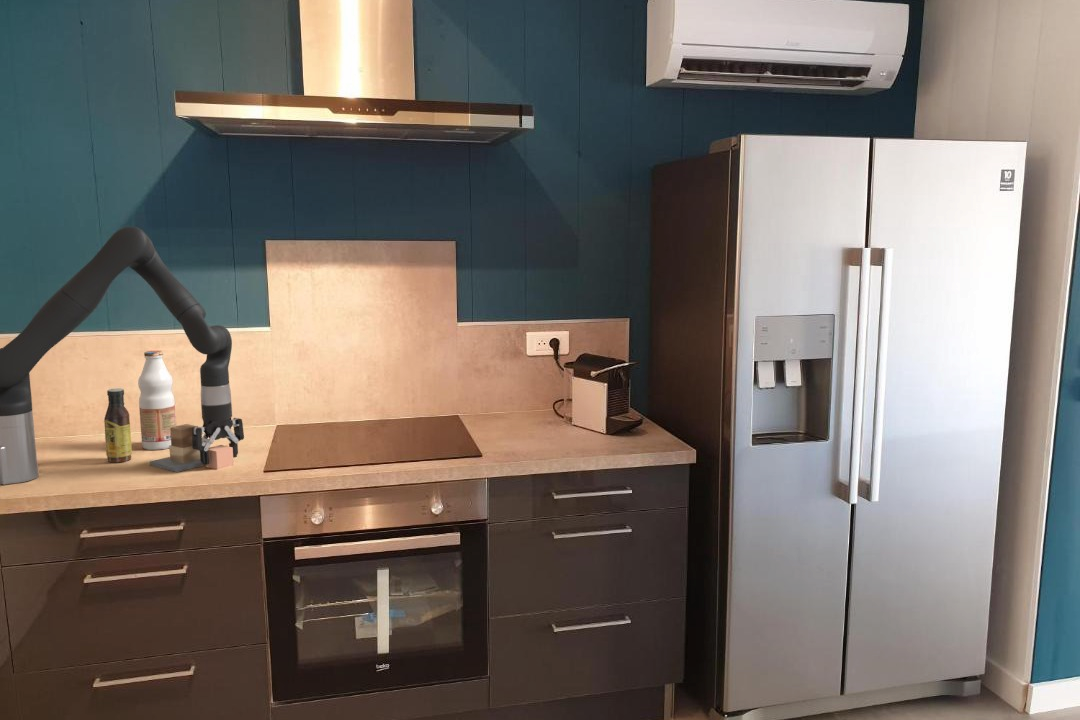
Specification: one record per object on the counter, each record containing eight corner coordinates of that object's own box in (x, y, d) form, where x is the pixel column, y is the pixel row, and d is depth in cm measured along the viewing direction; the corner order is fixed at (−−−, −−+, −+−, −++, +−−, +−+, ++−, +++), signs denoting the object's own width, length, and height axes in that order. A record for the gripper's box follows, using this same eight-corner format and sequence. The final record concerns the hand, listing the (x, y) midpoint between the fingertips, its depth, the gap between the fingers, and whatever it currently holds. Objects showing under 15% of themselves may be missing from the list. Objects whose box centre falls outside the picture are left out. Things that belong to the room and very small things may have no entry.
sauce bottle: (103, 460, 228) (98, 389, 225) (127, 456, 233) (122, 386, 230) (111, 465, 224) (106, 392, 221) (136, 460, 228) (131, 389, 225)
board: (176, 472, 217) (176, 468, 217) (150, 465, 224) (149, 461, 224) (223, 460, 229) (223, 456, 229) (196, 453, 235) (196, 450, 235)
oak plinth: (183, 463, 222) (182, 448, 221) (170, 459, 225) (169, 445, 225) (203, 458, 227) (202, 443, 226) (190, 454, 230) (189, 440, 230)
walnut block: (182, 448, 222) (181, 429, 221) (171, 445, 225) (170, 427, 224) (199, 444, 226) (198, 426, 225) (188, 441, 229) (186, 423, 228)
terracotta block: (217, 469, 220) (216, 451, 219) (205, 466, 223) (204, 448, 222) (233, 465, 224) (232, 447, 223) (221, 462, 227) (220, 444, 226)
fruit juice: (140, 451, 237) (133, 354, 233) (143, 443, 246) (137, 350, 242) (176, 448, 240) (170, 352, 236) (178, 441, 249) (172, 348, 245)
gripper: (201, 407, 213) (205, 469, 215) (247, 398, 225) (251, 456, 227) (183, 404, 217) (187, 464, 219) (230, 395, 229) (233, 452, 231)
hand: (219, 460), depth 223 cm, fingers open, 8 cm apart
